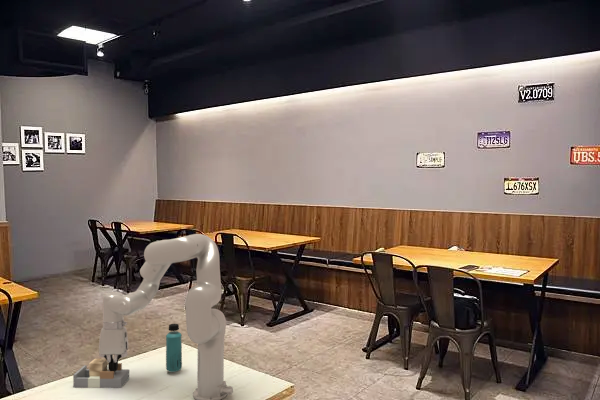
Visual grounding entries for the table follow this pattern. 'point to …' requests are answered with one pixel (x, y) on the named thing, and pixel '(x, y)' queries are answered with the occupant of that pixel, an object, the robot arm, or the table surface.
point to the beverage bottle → (173, 349)
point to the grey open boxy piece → (101, 378)
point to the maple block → (97, 367)
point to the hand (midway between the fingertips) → (113, 371)
